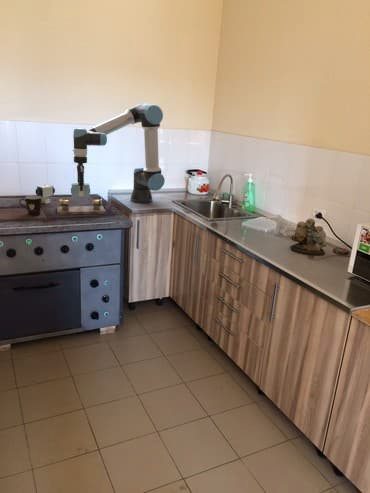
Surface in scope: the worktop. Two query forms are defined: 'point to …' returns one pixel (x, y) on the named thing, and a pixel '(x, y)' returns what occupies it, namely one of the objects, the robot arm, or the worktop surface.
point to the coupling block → (76, 190)
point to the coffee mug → (33, 205)
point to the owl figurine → (309, 238)
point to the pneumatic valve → (45, 192)
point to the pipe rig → (65, 204)
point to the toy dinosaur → (282, 225)
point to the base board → (81, 210)
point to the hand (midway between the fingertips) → (80, 195)
